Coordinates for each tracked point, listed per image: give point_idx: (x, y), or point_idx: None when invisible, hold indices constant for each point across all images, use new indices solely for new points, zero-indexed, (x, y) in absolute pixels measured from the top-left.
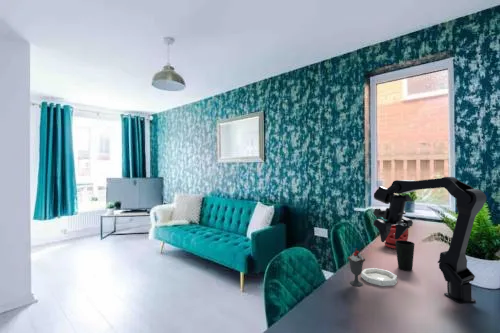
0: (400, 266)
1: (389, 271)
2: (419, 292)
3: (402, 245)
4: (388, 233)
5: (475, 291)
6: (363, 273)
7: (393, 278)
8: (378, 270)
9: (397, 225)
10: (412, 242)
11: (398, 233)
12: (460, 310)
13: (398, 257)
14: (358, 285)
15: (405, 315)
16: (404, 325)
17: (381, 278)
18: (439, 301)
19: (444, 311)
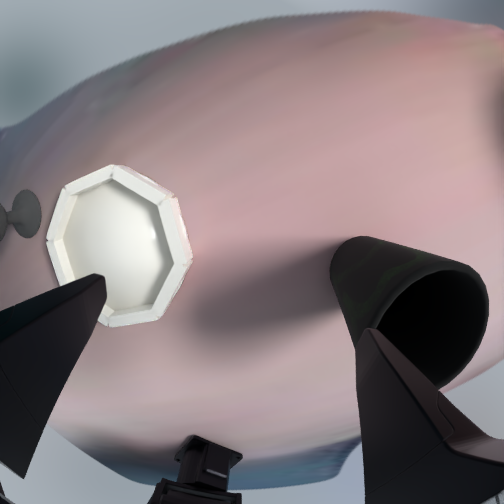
0: (334, 264)
1: (182, 270)
2: (143, 389)
3: None
4: (27, 432)
5: (297, 466)
6: (62, 200)
7: (120, 318)
8: (163, 215)
9: (449, 489)
10: (463, 367)
11: (377, 418)
12: (142, 456)
13: (349, 268)
14: (18, 231)
15: None
16: None
17: (114, 261)
18: (141, 429)
19: (105, 435)
